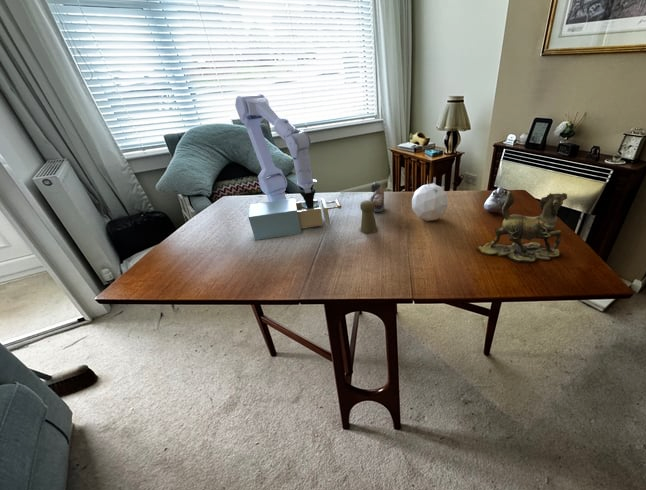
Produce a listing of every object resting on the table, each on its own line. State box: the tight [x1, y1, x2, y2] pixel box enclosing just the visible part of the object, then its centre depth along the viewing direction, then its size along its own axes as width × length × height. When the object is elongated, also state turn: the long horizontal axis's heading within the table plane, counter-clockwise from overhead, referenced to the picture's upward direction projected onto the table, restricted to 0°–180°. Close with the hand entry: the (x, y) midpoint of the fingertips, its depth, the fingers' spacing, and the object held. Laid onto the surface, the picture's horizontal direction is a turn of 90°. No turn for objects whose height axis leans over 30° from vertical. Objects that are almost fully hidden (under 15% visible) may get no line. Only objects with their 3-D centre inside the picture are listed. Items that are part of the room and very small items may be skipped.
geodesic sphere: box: [411, 183, 449, 222], centre depth 117 cm, size 15×14×14 cm
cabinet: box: [247, 198, 302, 241], centre depth 115 cm, size 17×13×9 cm
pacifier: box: [301, 201, 321, 210], centre depth 115 cm, size 7×6×6 cm
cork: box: [359, 199, 378, 234], centre depth 112 cm, size 6×6×11 cm
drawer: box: [296, 197, 342, 229], centre depth 118 cm, size 21×11×7 cm, turn 107°
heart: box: [483, 186, 510, 213], centre depth 120 cm, size 10×10×12 cm
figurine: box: [477, 190, 568, 264], centre depth 92 cm, size 13×25×20 cm, turn 79°
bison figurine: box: [369, 181, 385, 213], centre depth 128 cm, size 12×7×10 cm, turn 0°
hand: (309, 205), depth 116 cm, fingers closed on pacifier, 5 cm apart
